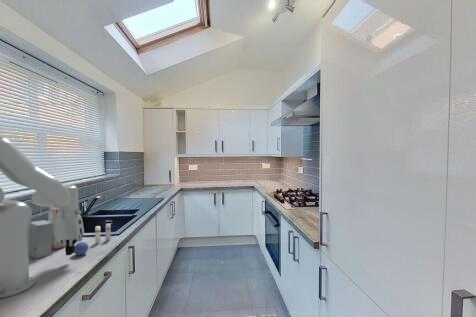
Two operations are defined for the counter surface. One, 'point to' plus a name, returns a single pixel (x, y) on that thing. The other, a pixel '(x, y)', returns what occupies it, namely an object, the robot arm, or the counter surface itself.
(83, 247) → the ball
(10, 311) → the counter surface
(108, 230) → the grey pin
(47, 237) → the skincare box
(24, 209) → the robot arm
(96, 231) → the cream pin
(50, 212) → the cracker box
